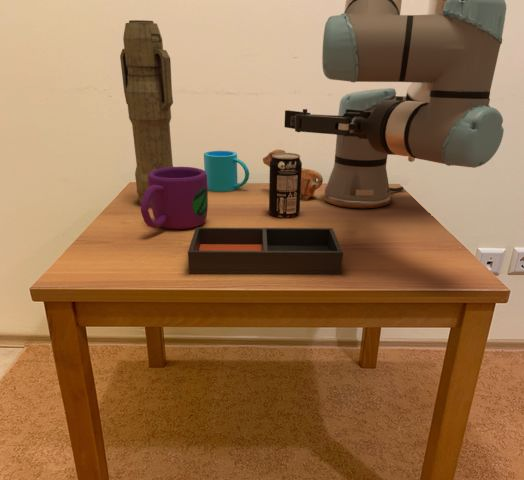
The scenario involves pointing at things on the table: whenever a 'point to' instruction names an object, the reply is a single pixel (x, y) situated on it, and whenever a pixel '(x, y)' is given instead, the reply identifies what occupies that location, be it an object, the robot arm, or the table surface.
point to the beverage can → (285, 184)
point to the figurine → (302, 177)
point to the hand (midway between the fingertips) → (317, 118)
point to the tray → (265, 251)
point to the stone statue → (147, 98)
